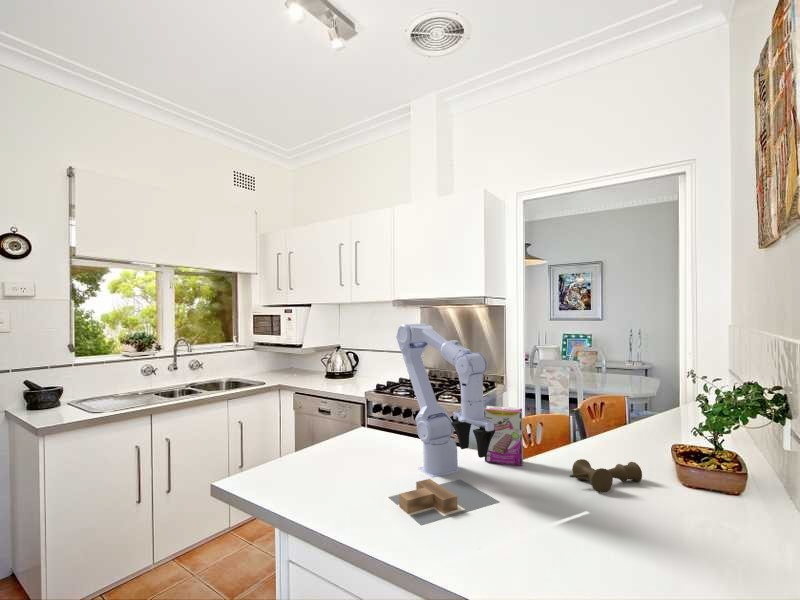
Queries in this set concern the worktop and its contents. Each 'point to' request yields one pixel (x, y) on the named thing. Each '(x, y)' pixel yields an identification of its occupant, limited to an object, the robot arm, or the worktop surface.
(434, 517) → the mat
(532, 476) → the worktop surface
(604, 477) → the kendama
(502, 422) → the candy bar box
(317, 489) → the worktop surface
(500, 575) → the worktop surface
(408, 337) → the robot arm
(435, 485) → the t block
